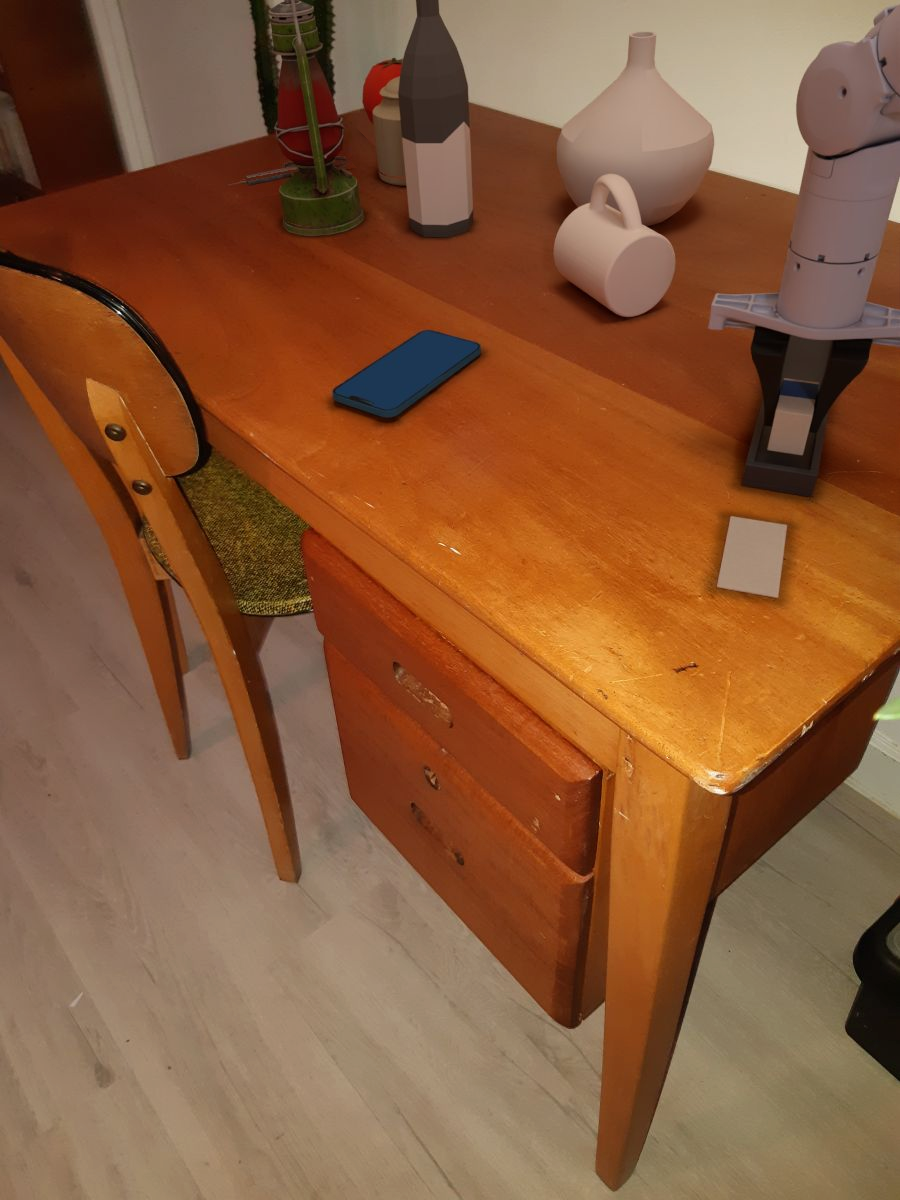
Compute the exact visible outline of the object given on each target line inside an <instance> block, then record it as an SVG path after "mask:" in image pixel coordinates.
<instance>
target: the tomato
mask: <svg viewBox="0 0 900 1200" xmlns="http://www.w3.org/2000/svg"><path fill="white" fill-rule="evenodd" d="M402 60H403V58H401V59H397V58H396V57H392V58H391V59H385V60H382V61H380V62H377V63H375V64H374V65H372V67H371V68H370V70H369V72H368V74H367V76H366V77H365V79H364V83H363V85H362V100H361V101H362V105H363V106H362V107H363V108H364V111H365V113H366V115H367V118H368V120H369V122H370V123H371V125H373V114H372V112H373V109H374V108H375V107H376V106H378V105H379V104H380V103H381V102H382V100H383V96H382V95H380V90H381V89H382V88H383V87H385V86H386V85H387V84H388V82H390V81H391V80H392V79H394V78H397V77H399V76H400V72H401V67H402V66H401V65H402Z"/></svg>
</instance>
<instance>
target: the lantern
mask: <svg viewBox="0 0 900 1200" xmlns="http://www.w3.org/2000/svg"><path fill="white" fill-rule="evenodd" d="M314 10H315V9H314V6H313V5H312V4H309V3H306V2H305V1H301V0H283V1H281V2H279V3H278V4H276V5H275V6H273V7H271V8H270V9H269V10H268V16H270V17H271V19H270V27H271V39H272V45H273V46H272V48H271V53H272V54H273V55H277V56H280V58H281V63H280V64H281V65H280V71H279V78H278V89H277V90H278V91H277V120H276V122H275V125H274V127H273V128H274V130H275V133H276V135H275V140H277V141H278V146H279V149H280V151H281V154H282V155H283V156H284V157H285V158H286V159H288V160H289V161H293V163H294V165H293V166H296V167H297V168H298V170H299V171H298V172H296V173H295V174H294V175H293V176H292V177H289V178H287V179H286V180H285V181H284V182H282V183H281V185H280V186H279V190H278V194H279V198H280V203H281V209H282V215H283V218H282V228H284V229H285V230H286V231H287V232H288V233H292V234H295V235H298V236H309V237H319V236H320V237H321V236H330V235H335V234H338V233H339V234H340V233H343V232H346V231H349V230H351V229H354V228H355V227H358V225H360V224H361V223H362V222H363V221H364V220H365V219H364V217H365V213H364V208H363V207H361V200H360V199H361V198H360V192H359V185H358V184H359V183H358V179H357V178H356V177H355V176H353V173H352V172H350V171H349V170H347V169H346V168H343V167H340V169H339V168H335V167H333V164H334V162H336V161H335V157H338V155H339V154H340V153H341V152H342V151H343V146H344V130H345V129H346V128H345V125H344V124H343V118H342V117H341V116H339V114H338V111H337V107H336V104H335V101H334V98H333V94H332V92H331V89H330V86H329V84H328V81H327V78H326V76H325V73H324V71H323V69H322V67H321V64H320V63H319V61H318V58H317V57H316V52H318V51H320V50H322V49H323V43H322V42H320V38H319V31H318V27H317V23H316V16H315V15H314V14H313V12H314ZM284 217H285V218H284ZM287 221H288V222H290V223H288V222H287ZM291 223H293V224H291ZM294 224H297V225H301V226H297V225H294ZM306 226H311V227H306Z"/></svg>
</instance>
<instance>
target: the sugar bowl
mask: <svg viewBox="0 0 900 1200" xmlns="http://www.w3.org/2000/svg"><path fill="white" fill-rule="evenodd" d="M403 58H404V56H403V57H402V59H403ZM402 62H403V60H402ZM401 66H402V65H401ZM399 80H400V76H399V77H397V78H394V79H392V80H391V81H390V82H388V84H387V85H386V86H385V87H383V88H382V89H381V90H380V95H382V96H383V100H382V102H381V103H380V104H379V105H378V106H376V107H375V108H374V109H373V112H372V114H373V124H372V126H373V135H374V137H373V138H374V145H375V152H376V160H377V169H379V170H378V176H379V178H380V180H381V181H383V182H385V183H386V184H389V185H393V186H400V187H407V186H406V179H396V178H391V177H387V176H384V175H382V174H381V173H380V172H382V173H383V174H386V175H389V176H395V177H406V175H405V164H404V153H403V142H402V131H401V120H400V109H399V98H398V90H399ZM379 171H380V172H379Z"/></svg>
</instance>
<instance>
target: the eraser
mask: <svg viewBox="0 0 900 1200" xmlns="http://www.w3.org/2000/svg"><path fill="white" fill-rule="evenodd" d="M818 387H819V383H818V382H811V381H803V380H795V379H787V378H784V379H783V382H782V386H781V390H780V394H779V398H778V403H777V408H776V412H775V417H774V421H773V426H772V430H771V435H770V439H769V444H768V448H767V450H770V451H777V452H783V453H790V454H796V455H803V452H804V448H805V444H806V440H807V436H808V432H809V428H810V425H811V421H812V417H813V412H814V406H815V402H816V398H817V393H818Z"/></svg>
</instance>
